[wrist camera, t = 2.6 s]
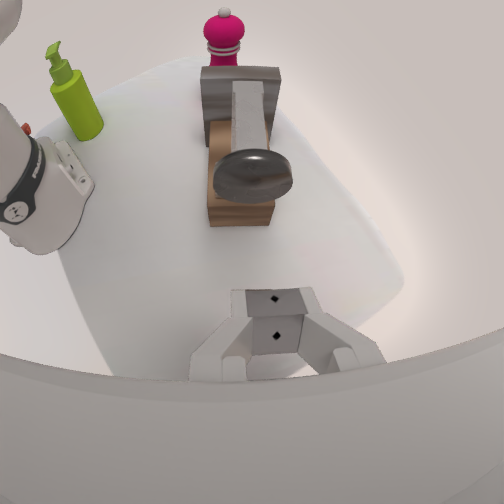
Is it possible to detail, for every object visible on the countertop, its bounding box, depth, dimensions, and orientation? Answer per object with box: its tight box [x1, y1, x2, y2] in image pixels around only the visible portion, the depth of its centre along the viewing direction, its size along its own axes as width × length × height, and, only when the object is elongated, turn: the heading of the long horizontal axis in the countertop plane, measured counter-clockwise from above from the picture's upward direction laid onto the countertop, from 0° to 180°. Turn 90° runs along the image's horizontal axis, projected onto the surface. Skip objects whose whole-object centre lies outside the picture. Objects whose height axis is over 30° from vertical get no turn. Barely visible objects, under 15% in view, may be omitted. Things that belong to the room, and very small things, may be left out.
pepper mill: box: [203, 7, 245, 66], centre depth 37 cm, size 7×7×20 cm
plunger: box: [213, 81, 293, 204], centre depth 26 cm, size 11×8×20 cm
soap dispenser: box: [45, 41, 104, 141], centre depth 34 cm, size 6×7×20 cm
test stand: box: [200, 66, 281, 227], centre depth 35 cm, size 17×10×14 cm, turn 3°
